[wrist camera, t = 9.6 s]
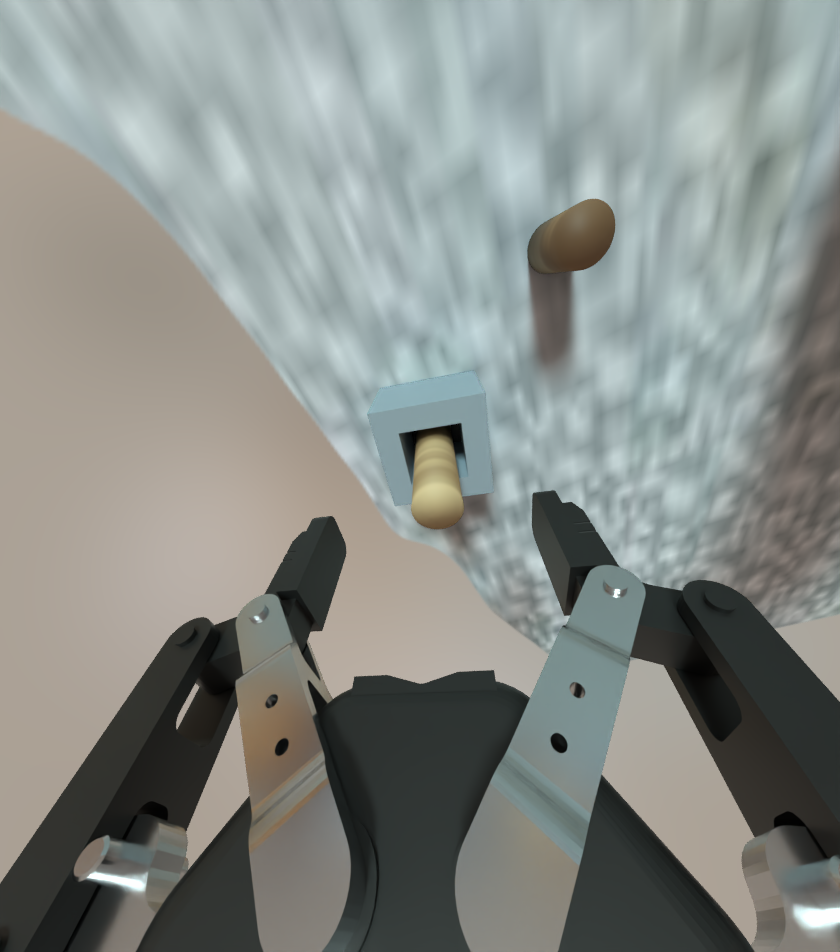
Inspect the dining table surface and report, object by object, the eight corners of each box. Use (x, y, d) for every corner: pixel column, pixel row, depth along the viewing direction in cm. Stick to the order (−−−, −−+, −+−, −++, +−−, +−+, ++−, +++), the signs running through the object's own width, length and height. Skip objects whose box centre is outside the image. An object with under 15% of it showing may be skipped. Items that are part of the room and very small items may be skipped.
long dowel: (414, 412, 22) (406, 492, 13) (447, 406, 22) (460, 484, 13) (420, 442, 23) (417, 532, 15) (451, 436, 23) (466, 525, 14)
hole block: (379, 388, 21) (367, 414, 17) (474, 370, 20) (485, 392, 16) (401, 468, 24) (394, 506, 20) (482, 455, 24) (493, 492, 19)
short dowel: (527, 225, 16) (556, 207, 12) (574, 214, 16) (619, 191, 12) (527, 278, 18) (554, 276, 14) (571, 268, 17) (611, 263, 13)
